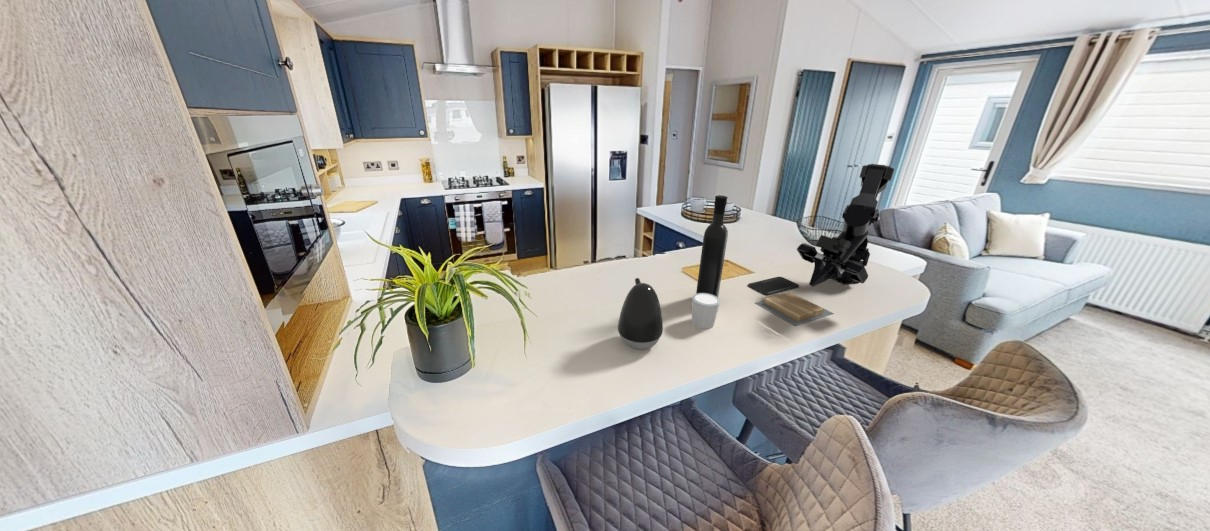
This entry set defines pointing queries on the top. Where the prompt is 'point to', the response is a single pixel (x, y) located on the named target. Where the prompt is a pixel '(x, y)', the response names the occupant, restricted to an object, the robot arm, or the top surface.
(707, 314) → the white short tapered cylinder
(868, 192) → the robot arm
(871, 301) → the top surface
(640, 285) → the black egg shape
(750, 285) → the phone
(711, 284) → the wine bottle
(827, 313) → the charcoal mat
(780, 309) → the oak block
